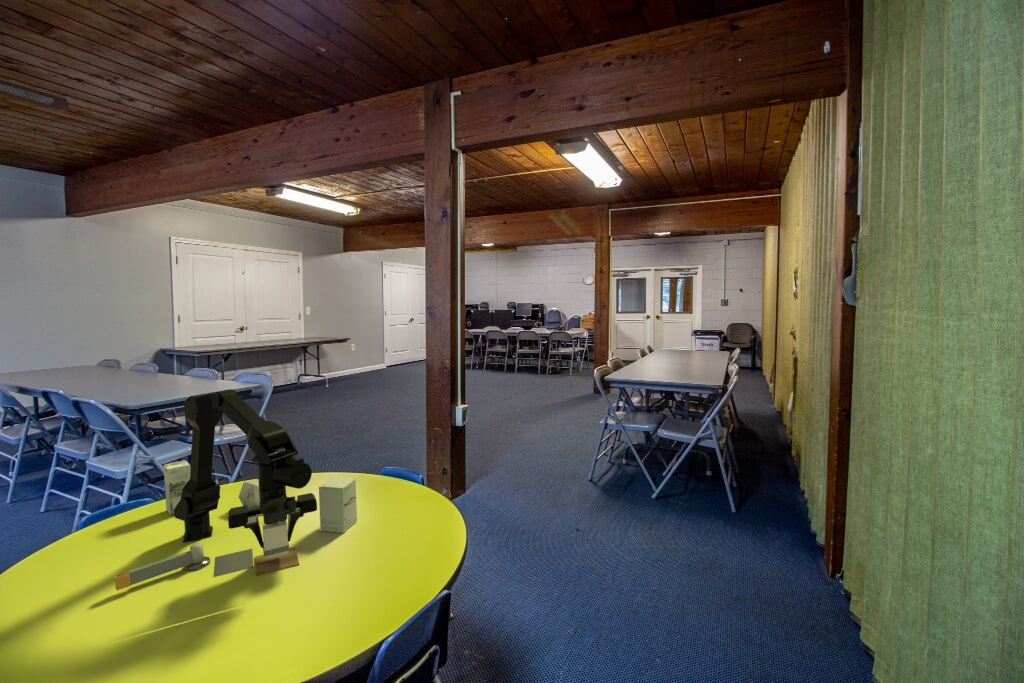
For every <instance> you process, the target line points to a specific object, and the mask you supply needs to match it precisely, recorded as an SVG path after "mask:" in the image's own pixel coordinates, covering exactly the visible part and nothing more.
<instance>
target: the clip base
mask: <svg viewBox="0 0 1024 683" xmlns="http://www.w3.org/2000/svg"><path fill="white" fill-rule="evenodd" d="M210 564H211V558H210V556H206V555H205V556H204V560H203V561H202V562H200V563H196V564H190V565H187V566H185V568H184V569H185V570H186V571H189V572H193V571H198V570H201V569H203V568H206V567H208V566H209V565H210Z"/></svg>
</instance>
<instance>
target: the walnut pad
mask: <svg viewBox="0 0 1024 683" xmlns="http://www.w3.org/2000/svg"><path fill="white" fill-rule="evenodd" d="M254 561H255V572H256V573H255V574H256V575H255V576H256V577H258V576H262V575H265V574H270V573H272V572H273V573H274V572H277V571H281V570H284V569H285V570H286V569H288V568H292V567H297V566H300V561H299V557H298V554H297V548H296V546H294V547H289V551H288V553H286V554H282V555H278V556H273V557H269V558H265V557H264V554H259V555H256V556H254Z"/></svg>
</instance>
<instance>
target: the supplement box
mask: <svg viewBox="0 0 1024 683" xmlns="http://www.w3.org/2000/svg"><path fill="white" fill-rule="evenodd" d="M356 481H357V480H356V478H350V477H348V478H347V477H346V478H345V477H332V478H331V479H329V480H327V481H325V482H324V483H323V484H321V485H320V486H318V500H319V502H318V503H319V504H318V506H319V523H320V524H319V527H320V528H319V529H320V531H321V532H329V533H339V534H340V533H341V534H344V533H345V532H346V531H347V530H348V529H350V528H351V527H352V526H353V525H355V523H357V522H358V511H357V510H358V509H357V507H358V505H357V482H356Z"/></svg>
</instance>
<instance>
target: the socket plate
mask: <svg viewBox="0 0 1024 683" xmlns="http://www.w3.org/2000/svg"><path fill="white" fill-rule="evenodd" d="M253 556H254V555H253V548H248V549H244V550H239V551H236V552H231V553H227V554H223V555H218V556H214V557H215V558H214V569H213V578H216V577H219V576H224V575H227V574H232V573H237V572H239V571H240V572H241V571H244V570H248V569H252V568H254V557H253Z"/></svg>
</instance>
